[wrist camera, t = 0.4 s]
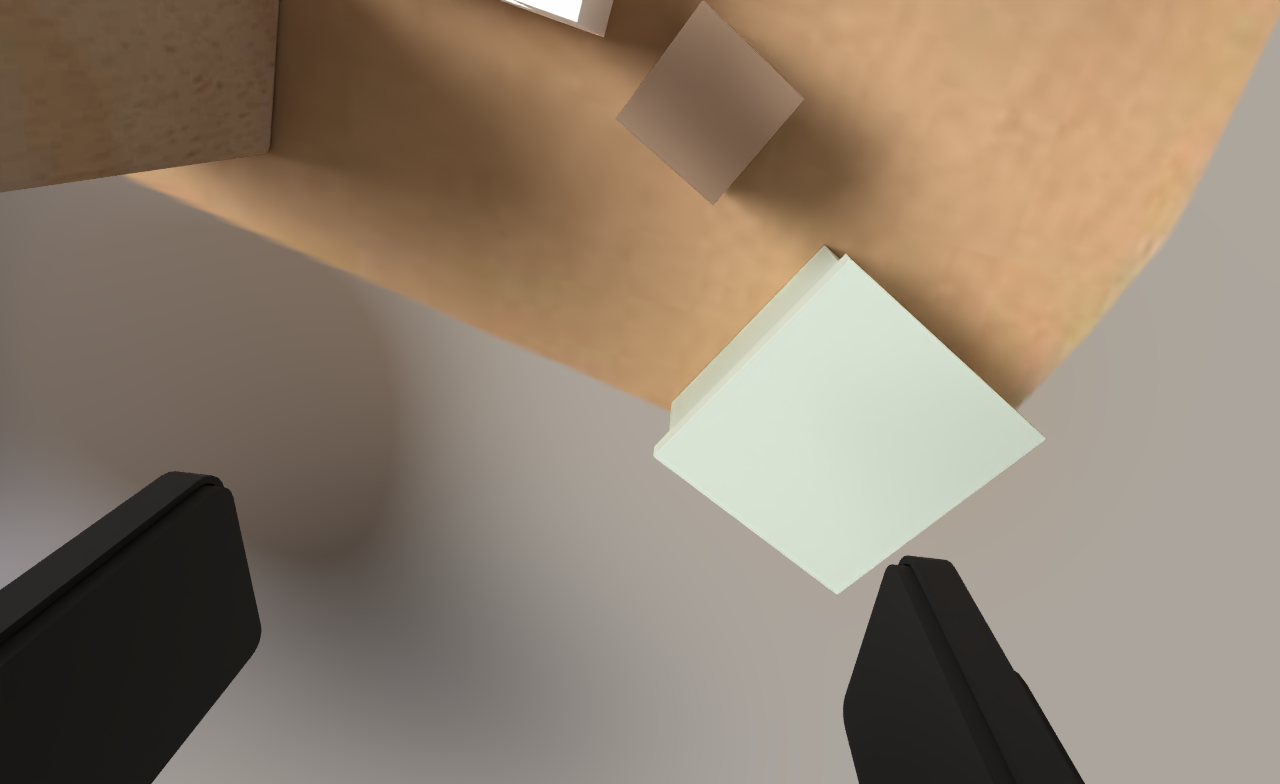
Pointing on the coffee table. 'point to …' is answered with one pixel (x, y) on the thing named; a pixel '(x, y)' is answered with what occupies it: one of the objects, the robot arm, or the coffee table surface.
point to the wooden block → (131, 86)
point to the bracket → (572, 12)
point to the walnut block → (709, 104)
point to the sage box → (839, 424)
